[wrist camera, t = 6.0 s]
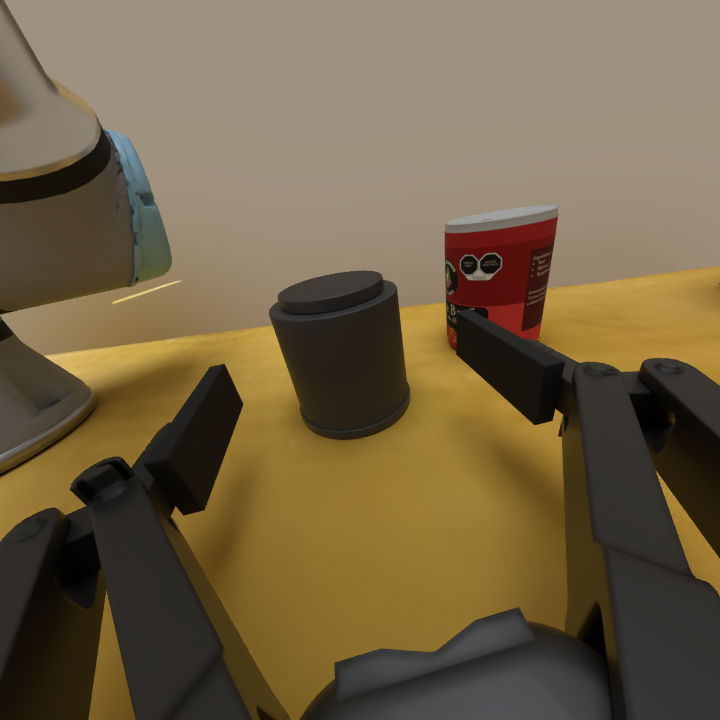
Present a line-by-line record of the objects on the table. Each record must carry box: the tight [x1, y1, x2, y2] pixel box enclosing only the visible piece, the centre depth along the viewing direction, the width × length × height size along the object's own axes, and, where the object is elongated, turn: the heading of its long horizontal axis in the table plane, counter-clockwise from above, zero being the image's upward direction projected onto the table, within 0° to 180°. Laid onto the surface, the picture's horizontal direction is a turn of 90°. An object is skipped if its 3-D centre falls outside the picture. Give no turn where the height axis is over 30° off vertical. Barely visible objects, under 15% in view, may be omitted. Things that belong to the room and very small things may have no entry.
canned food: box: [445, 205, 558, 349], centre depth 24 cm, size 8×8×11 cm
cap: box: [269, 271, 410, 439], centre depth 20 cm, size 9×9×9 cm
